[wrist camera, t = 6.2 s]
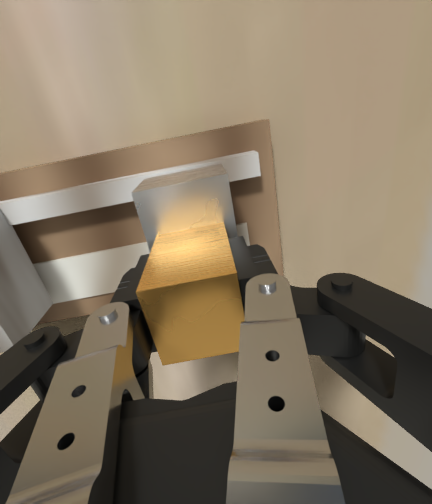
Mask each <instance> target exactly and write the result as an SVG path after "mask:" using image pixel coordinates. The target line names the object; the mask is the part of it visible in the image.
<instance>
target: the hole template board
mask: <svg viewBox="0 0 432 504" xmlns="http://www.w3.org/2000/svg"><path fill="white" fill-rule="evenodd" d="M220 163H222V165H223V167H224V168H225V170H226V172H227V174H228V180H229V186H230V192H231V198H232V204H233V210H234V217H235V223H236V229H237V235H238V237H239V236H243V237H244V239H245V242H246V244H247V246H250V245H255V244H258V245H260V246H262V247H263V248H265V250H266V252H267V254H268V256H269V257H270V260H271V261H272V263H273V265H274V267H275V269H276V271H277V273H278V274H279V275H281V276H283V265H282V254H281V243H280V232H279V221H278V210H277V199H276V188H275V177H274V166H273V156H272V145H271V134H270V123H269V119H267V120H259V121H254V122H249V123H244V124H239V125H234V126H230V127H225V128H220V129H215V130H210V131H205V132H200V133H195V134H190V135H185V136H180V137H176V138H171V139H166V140H161V141H156V142H151V143H146V144H141V145H136V146H131V147H126V148H122V149H117V150H112V151H107V152H102V153H97V154H92V155H87V156H82V157H77V158H72V159H67V160H63V161H58V162H53V163H48V164H43V165H38V166H33V167H28V168H23V169H18V170H13V171H9V172H4V173H0V353H1V352H5V351H7V350H8V349H9V348H10V347H12V346H13V345H14V344H16V343H17V342H18V341H19V340H21V339H22V338H23V337H25V336H26V335H28V334H29V333H30V332H31V331H32V329H33V328H34V327H35V326H36V325H37V324H42V323H47V322H53V321H58V320H63V319H69V318H74V317H79V316H84V315H90V314H92V313H93V312H94V311H95V310H97V309H98V308H100V307H102V306H104V305H107V304H110V301H111V299H112V297H113V295H114V293H115V291H116V289H117V287H118V285H119V284H120V281H121V279H122V277H123V275H124V274H125V273H126V272H127V271H128V270H130V269H131V268H135V267H136V265H137V263H138V260H139V258H140V256H141V255H145V254H150V251H149V247H148V244H147V241H146V238H145V235H144V232H143V229H142V225H141V222H140V219H139V216H138V213H137V210H136V207H135V203H134V200H133V197H132V194H131V193H132V191H133V190H134V189H135V188H136V187H137V186H138V185H139V184H140V183H141V182H142V181H143V180H144V179H145V178H150V177H155V176H160V175H165V174H170V173H175V172H180V171H185V170H190V169H195V168H200V167H205V166H210V165H215V164H220Z"/></svg>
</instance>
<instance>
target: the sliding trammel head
mask: <svg viewBox="0 0 432 504" xmlns="http://www.w3.org/2000/svg"><path fill="white" fill-rule="evenodd" d="M131 194H132V197H133V200H134V203H135V207H136V210H137V213H138V216H139V219H140V222H141V225H142V229H143V232H144V235H145V238H146V241H147V244H148V247H149V251H150V254H149V257H148V260H147V263H146V265H145V268H144V271H143V274H142V276H141V279H140V282H139V285H138V287H137V290H136V294H137V297H138V300H139V302H140V305H141V308H142V310H143V313H144V316H145V319H146V321H147V324H148V327H149V329H150V332H151V335H152V338H153V340H154V343H155V346H156V348H157V351H158V354H159V357H160V359H161V362H162V365H168V364H174V363H179V362H184V361H190V360H195V359H201V358H206V357H212V356H217V355H223V354H228V353H233V352H239V339H240V324H241V322H243V321H244V319H245V316H244V311H243V305H242V299H241V293H240V288H239V282H238V276H237V271H236V267H235V264H234V260H233V256H232V252H231V248H230V244H229V240H228V238H234V237H238V235H237V229H236V223H235V217H234V210H233V204H232V198H231V192H230V186H229V180H228V174H227V172H226V170H225V168H224V167H223V165H222V163H220V164H215V165H210V166H205V167H200V168H195V169H190V170H185V171H180V172H175V173H170V174H165V175H160V176H155V177H150V178H145V179H144V180H143V181H142V182H141V183H140V184H139V185H138V186H137V187H136V188H135V189H134V190H133V191H132V193H131Z"/></svg>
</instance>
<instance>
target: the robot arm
mask: <svg viewBox="0 0 432 504" xmlns="http://www.w3.org/2000/svg"><path fill="white" fill-rule="evenodd" d="M228 240H229V244H230V248H231V252H232V256H233V260H234V264H235V267H236V271H237V276H238V282H239V288H240V293H241V299H242V305H243V311H244V316H245V319H244V321H243V322H241V324H240V339H239V357H238V375H237V382H231V383H226V384H223V385H220V386H218V387H216V388H213V389H211V390H208V391H206V392H204V393H201V394H199V395H197V396H194V397H192V398H190V399H187V400H183V401H177V400H163V399H154V396H153V369H152V364H151V362H150V355H151V353H152V352H157V348H156V346H155V343H154V340H153V338H152V335H151V332H150V329H149V327H148V324H147V321H146V319H145V316H144V313H143V310H142V308H141V305H140V302H139V300H138V297H137V294H136V290H137V287H138V285H139V282H140V279H141V276H142V274H143V271H144V268H145V265H146V263H147V260H148V257H149V254H145V255H141V256H140V258H139V260H138V263H137V265H136V267H135V268H131V269H130V270H128V271H127V272H126V273H125V274H124V275H123V277H122V279H121V281H120V284H119V285H118V287H117V289H116V291H115V293H114V295H113V297H112V299H111V301H110V304H107V305H104V306H102V307H100V308H98V309H97V310H95V311H94V312H93V313H92V314H91V315H90V316H89V317H88V318H87V321H86V323H85V327H84V329H82V330H79V331H77V332H74V333H72V334H69V335H66V336H64V337H63V335H62V333H61V332H60V330H59V328H57V327H53V326H50V327H44V328H41V329H38V330H36V331H34V332H32V333H30V334H28V335H26V336H25V337H23V338H22V339H21V340H19V341H18V342H17V343H16V344H14V345H13V346H12V347H10V348H9V349H8V350H7V351H5V352H4V353H3V354H2V355H0V414H1V413H2V412H3V411H4V410H5V409H6V408H7V407H8V406H9V405H10V404H11V403H12V402H14V401H15V400H16V399H17V398H18V397H19V396H20V395H21V394H22V393H23V392H24V391H25V390H26V389H27V388H28V387H29V386H30V385H31V387H32V388H33V390H34V391H35V393H36V394H37V396H38V397H39V399H40V401H39V402H38V403H37V404H36V405H35V406H34V407H33V408H32V409H31V410H30V411H29V412H28V414H27V415H26V416H25V417H24V418H23V419H22V420H21V421H20V422H19V423H18V424H17V425H16V426H15V427H14V428H13V429H12V430H11V431H10V432H9V433H8V435H7V436H6V437H5V438H4V439H3V440H2V441H1V442H0V504H432V489H430V488H428V487H427V486H426V485H425V484H423V483H422V482H420V481H419V480H418V479H416V478H415V477H413V476H412V475H411V474H409V473H408V472H407V471H405V470H404V469H402V468H401V467H400V466H398V465H397V464H395V463H394V462H393V461H391V460H390V459H388V458H387V457H386V456H384V455H383V454H382V453H380V452H379V451H377V450H376V449H375V448H373V447H372V446H371V445H369V444H368V443H366V442H365V441H364V440H362V439H361V438H359V437H358V436H357V435H355V434H354V433H353V432H351V431H350V430H348V429H347V428H346V427H344V426H343V425H341V424H340V423H339V422H337V421H336V420H334V419H333V418H332V417H330V416H329V415H328V414H326V413H325V412H323V411H322V410H321V409H320V405H319V401H318V396H317V392H316V387H315V383H314V379H313V374H312V370H311V366H310V361H309V357H308V354H309V355H320V357H321V359H322V360H323V362H325V363H326V364H327V365H328V366H329V367H330V368H332V369H333V370H334V371H335V372H336V373H338V374H339V375H340V376H341V377H342V378H344V379H345V380H346V381H347V382H348V383H350V384H351V385H352V386H353V387H354V388H356V389H357V390H358V391H359V392H360V393H362V394H363V395H364V396H365V397H366V398H368V399H369V400H370V401H371V402H372V403H374V404H375V405H376V406H377V407H378V408H380V409H381V410H382V411H383V412H384V413H386V414H387V415H388V416H389V417H390V418H392V419H393V420H394V421H395V422H396V423H398V424H399V425H400V426H401V427H402V428H404V429H405V430H406V431H407V432H408V433H410V434H411V435H412V436H413V437H415V438H416V439H417V440H418V441H419V442H420V443H422V444H423V445H424V446H425V447H426V448H428V449H429V450H430V451H431V452H432V309H431V308H429V307H426V306H424V305H422V304H420V303H417V302H415V301H413V300H411V299H408V298H406V297H404V296H401V295H399V294H397V293H395V292H392V291H390V290H388V289H386V288H383V287H381V286H379V285H376V284H374V283H372V282H370V281H367V280H365V279H363V278H361V277H358V276H356V275H352V274H347V273H333V274H328V275H325V276H323V277H322V278H320V279H319V280H318V282H317V288H300V287H294V286H291V285H290V284H289V281H288V280H287V279H286V278H285V277H284V276H281V275H279V274H278V273H277V271H276V269H275V267H274V265H273V263H272V261H271V260H270V257H269V256H268V254H267V252H266V250H265V248H263V247H262V246H260V245H258V244H255V245H250V246H247V244H246V242H245V239H244V237H243V236H239V237H234V238H228ZM366 335H367V336H369V337H370V338H372V339H374V340H375V341H377V342H378V343H380V344H382V345H383V346H385V347H386V348H387V349H388V350H389V351H390V352H391V353H392V354H393V355H394V357H395V358H394V357H393V356H391V355H389V354H388V353H386V352H385V351H383V350H382V349H380V348H379V347H377V346H375V345H374V344H372V343H371V342H369V341H368V340H366V339H365V337H366Z"/></svg>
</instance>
